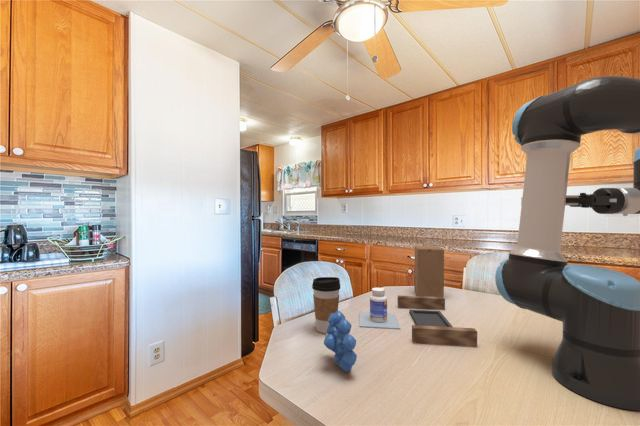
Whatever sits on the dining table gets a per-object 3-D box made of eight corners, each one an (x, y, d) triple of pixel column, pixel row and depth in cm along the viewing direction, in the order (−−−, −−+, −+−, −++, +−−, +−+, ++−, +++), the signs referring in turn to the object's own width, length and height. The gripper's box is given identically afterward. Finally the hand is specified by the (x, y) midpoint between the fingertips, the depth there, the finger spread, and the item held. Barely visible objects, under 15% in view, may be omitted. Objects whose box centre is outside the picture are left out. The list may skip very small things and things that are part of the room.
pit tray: (439, 314, 97) (439, 310, 97) (456, 335, 81) (456, 330, 81) (409, 313, 98) (409, 309, 98) (419, 333, 82) (419, 329, 82)
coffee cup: (336, 337, 80) (336, 283, 79) (307, 332, 82) (307, 280, 82) (343, 325, 88) (343, 276, 87) (317, 321, 90) (317, 274, 90)
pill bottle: (387, 323, 89) (387, 291, 88) (369, 322, 89) (370, 291, 89) (386, 316, 94) (386, 287, 94) (369, 315, 95) (369, 286, 95)
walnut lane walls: (443, 308, 103) (443, 297, 103) (477, 346, 74) (477, 331, 74) (397, 306, 105) (397, 295, 105) (413, 343, 76) (413, 328, 76)
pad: (394, 314, 97) (394, 313, 97) (400, 329, 85) (400, 328, 85) (359, 312, 98) (359, 311, 98) (359, 327, 86) (359, 326, 86)
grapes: (313, 357, 69) (313, 307, 69) (339, 351, 71) (339, 303, 71) (334, 384, 58) (334, 325, 58) (363, 377, 61) (363, 320, 61)
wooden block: (443, 300, 112) (444, 249, 112) (417, 298, 114) (417, 248, 114) (438, 292, 122) (439, 245, 122) (414, 291, 124) (414, 245, 124)
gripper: (660, 214, 70) (566, 214, 73) (580, 213, 95) (511, 213, 98) (661, 184, 70) (567, 184, 73) (580, 190, 95) (512, 190, 97)
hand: (535, 201), depth 85 cm, fingers open, 13 cm apart
